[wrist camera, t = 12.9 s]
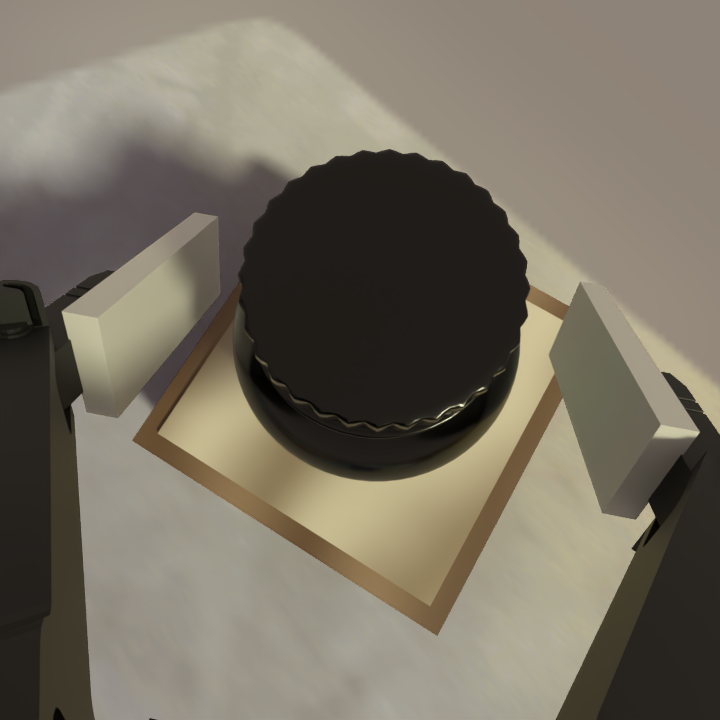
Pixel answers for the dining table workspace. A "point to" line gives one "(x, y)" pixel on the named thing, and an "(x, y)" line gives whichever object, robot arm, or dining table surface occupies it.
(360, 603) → the dining table surface
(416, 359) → the supplement bottle
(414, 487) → the walnut riser block
